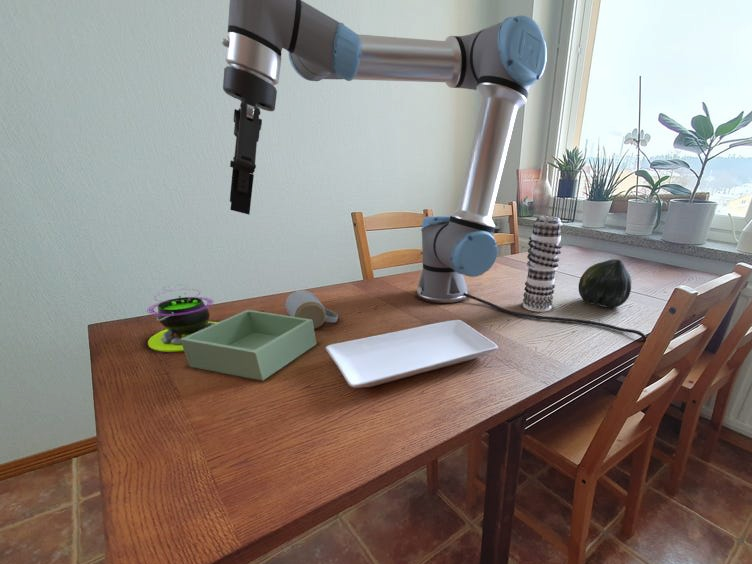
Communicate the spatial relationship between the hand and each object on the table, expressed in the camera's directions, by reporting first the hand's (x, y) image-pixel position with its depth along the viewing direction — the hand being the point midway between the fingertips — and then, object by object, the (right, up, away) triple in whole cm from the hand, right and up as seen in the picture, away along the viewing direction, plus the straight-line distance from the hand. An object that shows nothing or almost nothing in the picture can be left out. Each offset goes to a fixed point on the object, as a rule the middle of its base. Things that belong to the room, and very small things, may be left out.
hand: (238, 207), depth 68 cm
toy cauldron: (-19, -23, +14) cm, 33 cm away
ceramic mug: (+4, -19, +23) cm, 30 cm away
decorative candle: (+61, -12, +42) cm, 75 cm away
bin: (-1, -27, +8) cm, 28 cm away
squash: (+82, -11, +47) cm, 95 cm away
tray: (+31, -28, +9) cm, 43 cm away
